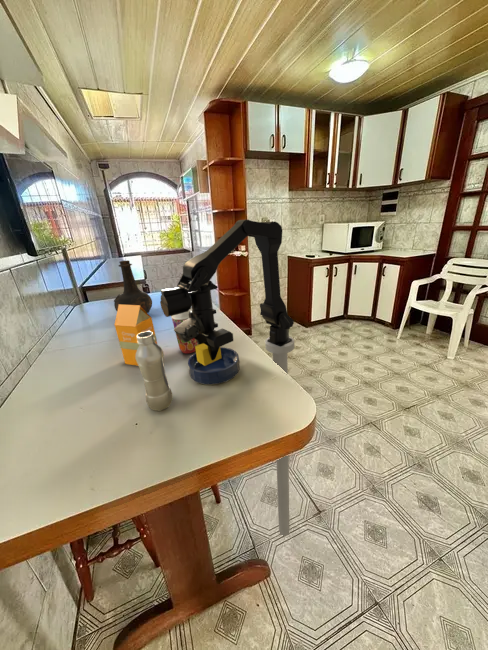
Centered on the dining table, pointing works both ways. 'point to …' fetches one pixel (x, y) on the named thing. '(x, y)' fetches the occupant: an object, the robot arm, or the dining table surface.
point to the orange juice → (131, 329)
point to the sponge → (205, 354)
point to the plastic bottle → (153, 372)
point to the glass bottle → (131, 290)
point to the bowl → (215, 368)
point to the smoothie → (184, 346)
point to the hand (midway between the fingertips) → (209, 357)
